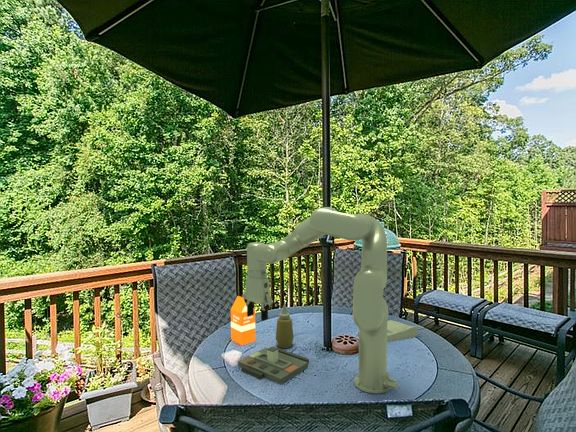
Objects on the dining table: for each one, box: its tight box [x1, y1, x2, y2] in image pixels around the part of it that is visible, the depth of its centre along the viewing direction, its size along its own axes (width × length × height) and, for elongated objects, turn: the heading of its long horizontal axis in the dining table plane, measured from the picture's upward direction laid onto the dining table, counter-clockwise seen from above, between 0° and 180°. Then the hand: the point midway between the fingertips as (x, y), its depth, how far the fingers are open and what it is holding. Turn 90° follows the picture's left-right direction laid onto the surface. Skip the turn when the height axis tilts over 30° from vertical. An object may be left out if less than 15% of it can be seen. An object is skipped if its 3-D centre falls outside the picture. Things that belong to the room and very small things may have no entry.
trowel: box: [357, 319, 419, 343], centre depth 168 cm, size 28×16×5 cm, turn 91°
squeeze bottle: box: [275, 305, 295, 349], centre depth 158 cm, size 8×8×18 cm
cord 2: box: [274, 346, 310, 364], centre depth 147 cm, size 18×2×2 cm, turn 51°
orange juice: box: [230, 295, 256, 346], centre depth 164 cm, size 8×9×20 cm
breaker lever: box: [267, 346, 279, 363], centre depth 138 cm, size 3×3×5 cm
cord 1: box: [240, 366, 265, 380], centre depth 133 cm, size 10×2×2 cm, turn 51°
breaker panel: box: [237, 347, 309, 385], centre depth 139 cm, size 22×16×3 cm
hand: (257, 317), depth 143 cm, fingers open, 7 cm apart
